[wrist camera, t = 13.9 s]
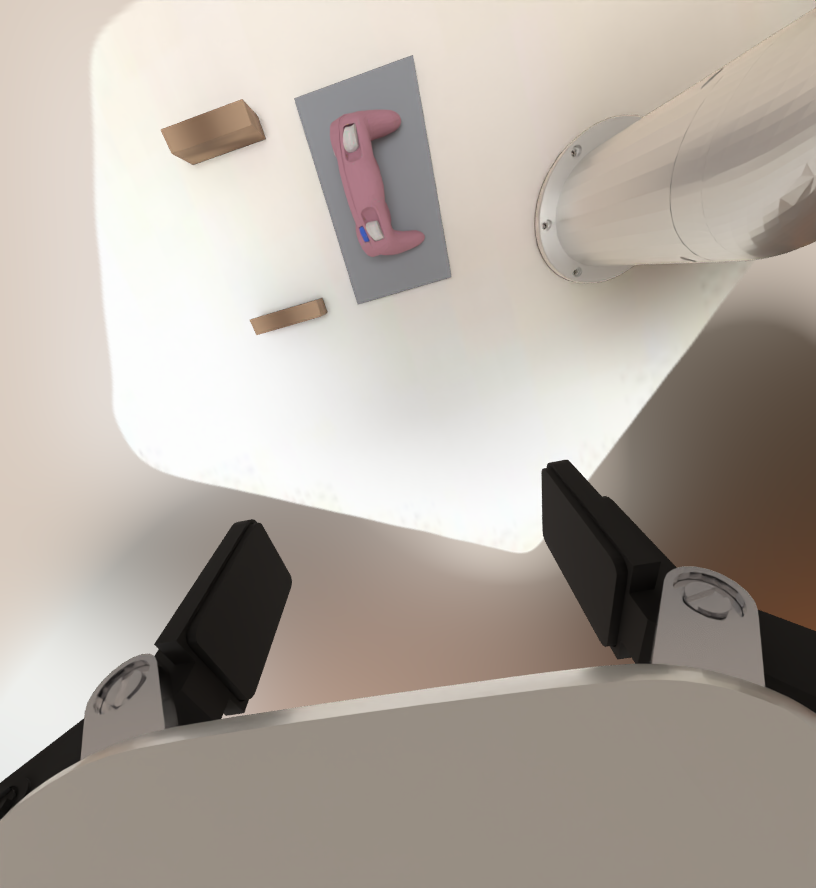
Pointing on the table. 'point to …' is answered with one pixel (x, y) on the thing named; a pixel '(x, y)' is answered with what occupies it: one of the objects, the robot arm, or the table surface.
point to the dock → (218, 137)
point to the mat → (401, 174)
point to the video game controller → (368, 180)
